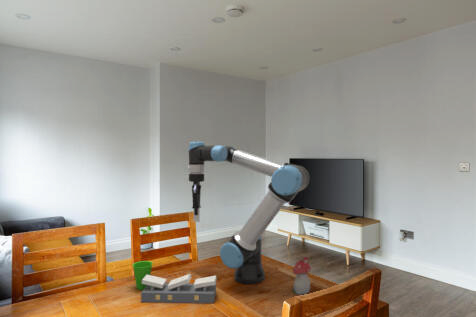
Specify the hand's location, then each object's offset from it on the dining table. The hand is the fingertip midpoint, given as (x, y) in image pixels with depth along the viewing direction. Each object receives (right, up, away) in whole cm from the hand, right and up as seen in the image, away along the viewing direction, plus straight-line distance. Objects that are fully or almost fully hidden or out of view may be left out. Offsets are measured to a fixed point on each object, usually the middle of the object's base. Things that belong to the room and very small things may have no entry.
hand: (196, 221), depth 154 cm
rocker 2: (-4, -22, -20) cm, 30 cm away
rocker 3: (+6, -22, -20) cm, 30 cm away
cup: (-23, -29, -10) cm, 38 cm away
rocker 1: (-15, -22, -20) cm, 33 cm away
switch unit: (-5, -29, -20) cm, 35 cm away
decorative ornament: (+49, -29, -14) cm, 58 cm away
